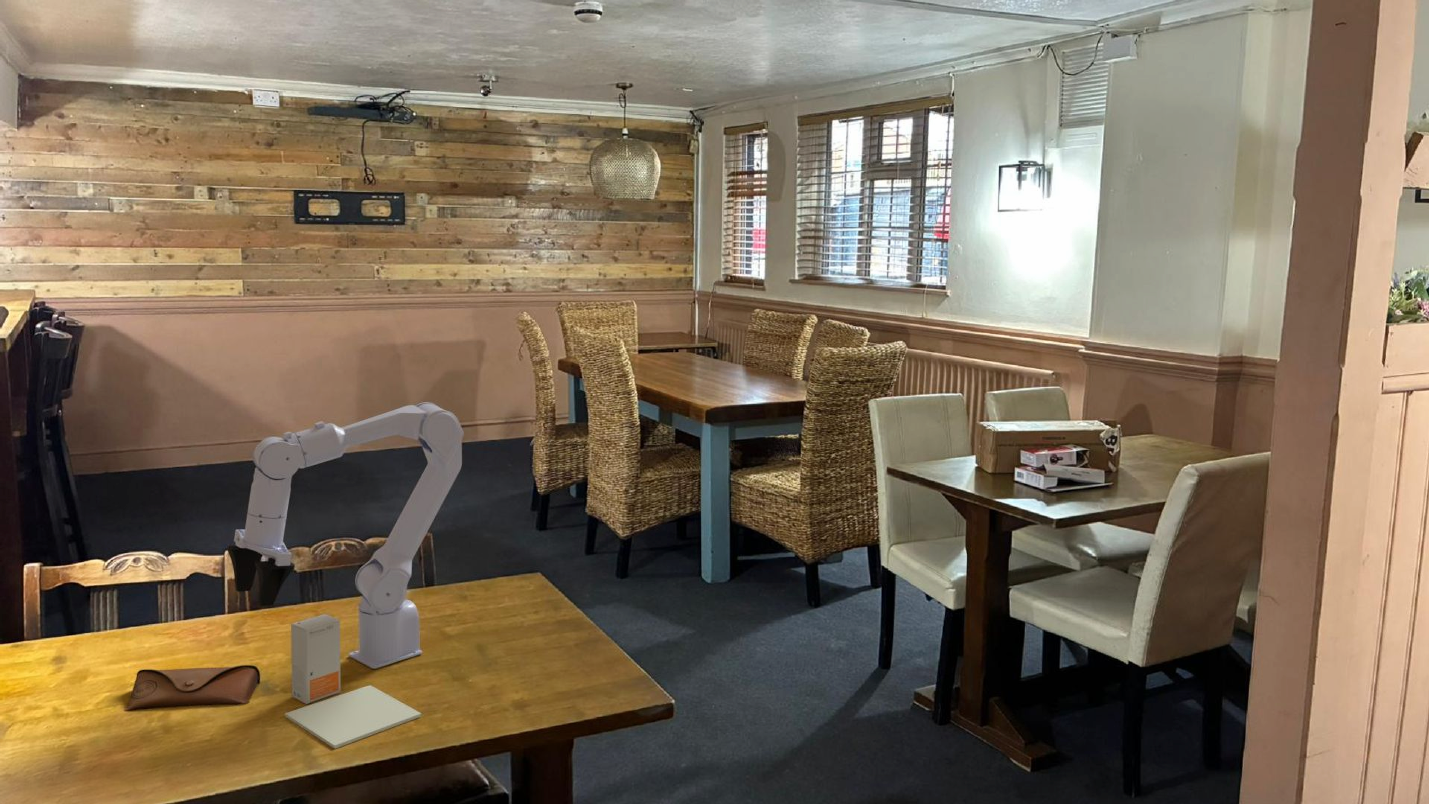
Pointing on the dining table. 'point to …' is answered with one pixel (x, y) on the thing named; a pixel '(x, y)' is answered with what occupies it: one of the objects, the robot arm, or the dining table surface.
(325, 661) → the skincare box
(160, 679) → the sunglasses case
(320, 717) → the mat
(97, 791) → the dining table surface
